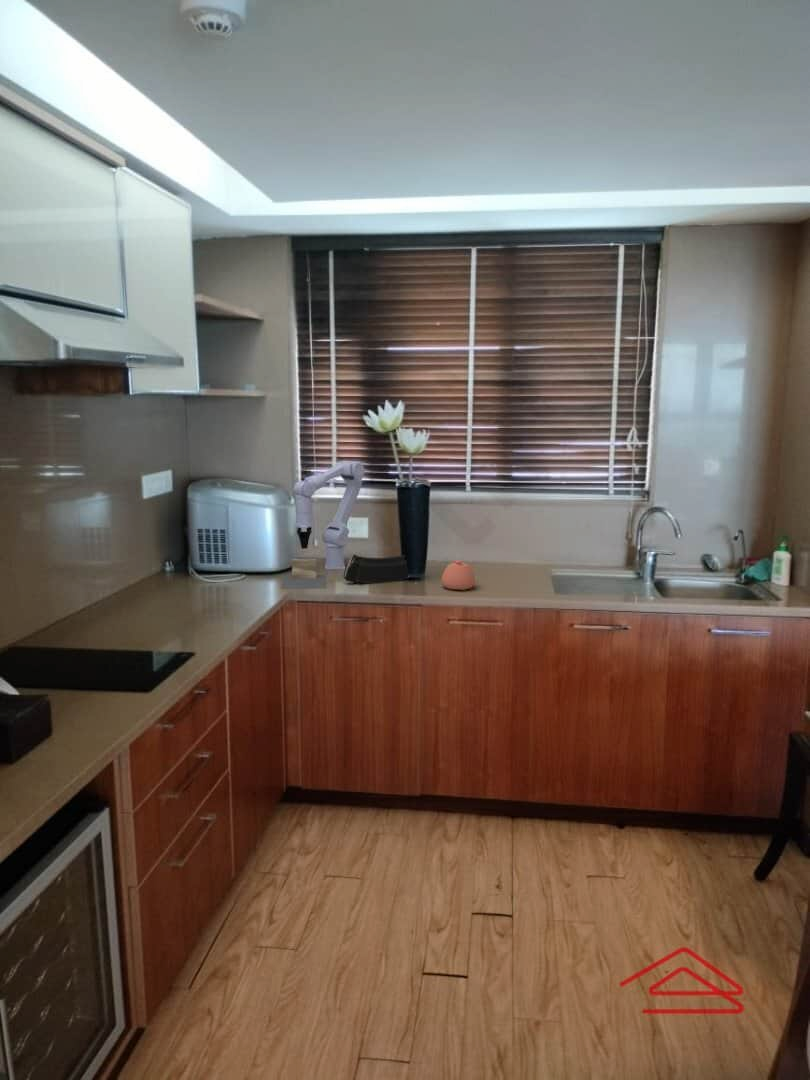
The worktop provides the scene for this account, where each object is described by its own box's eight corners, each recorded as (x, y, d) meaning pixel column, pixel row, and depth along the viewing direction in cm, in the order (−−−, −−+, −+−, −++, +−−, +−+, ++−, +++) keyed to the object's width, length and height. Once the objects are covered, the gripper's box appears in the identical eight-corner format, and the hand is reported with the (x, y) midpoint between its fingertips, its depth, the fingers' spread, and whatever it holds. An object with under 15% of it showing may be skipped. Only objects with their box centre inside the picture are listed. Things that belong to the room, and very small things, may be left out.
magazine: (422, 553, 287) (353, 536, 273) (426, 555, 284) (357, 537, 270) (410, 596, 287) (341, 581, 273) (414, 598, 285) (344, 583, 271)
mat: (283, 575, 286) (283, 575, 286) (325, 575, 288) (325, 574, 288) (281, 589, 265) (281, 588, 265) (326, 588, 267) (326, 588, 267)
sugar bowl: (437, 590, 267) (437, 562, 265) (447, 582, 280) (448, 555, 278) (470, 593, 263) (471, 565, 261) (479, 584, 276) (480, 557, 274)
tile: (292, 577, 283) (292, 559, 282) (316, 576, 284) (316, 558, 283) (292, 578, 281) (292, 560, 280) (316, 578, 282) (316, 560, 281)
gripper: (294, 510, 294) (294, 543, 296) (293, 515, 280) (293, 550, 282) (312, 509, 295) (312, 543, 297) (312, 515, 280) (312, 550, 283)
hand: (304, 547), depth 290 cm, fingers open, 5 cm apart
